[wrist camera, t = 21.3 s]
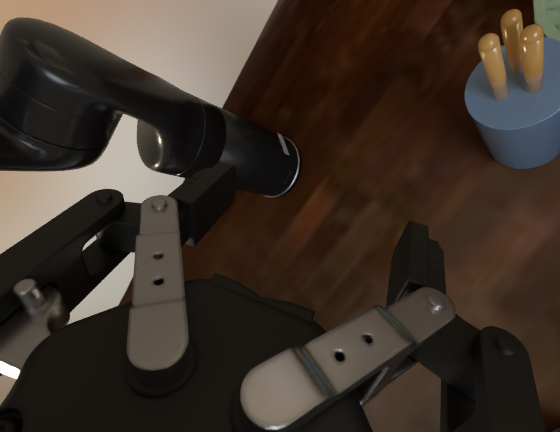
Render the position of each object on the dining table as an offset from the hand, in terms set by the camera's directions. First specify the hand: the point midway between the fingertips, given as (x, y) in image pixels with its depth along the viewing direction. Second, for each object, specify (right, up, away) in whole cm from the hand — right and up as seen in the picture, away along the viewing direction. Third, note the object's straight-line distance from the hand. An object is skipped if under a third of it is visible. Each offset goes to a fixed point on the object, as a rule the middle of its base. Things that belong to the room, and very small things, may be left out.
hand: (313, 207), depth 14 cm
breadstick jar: (+21, +7, +15) cm, 27 cm away
